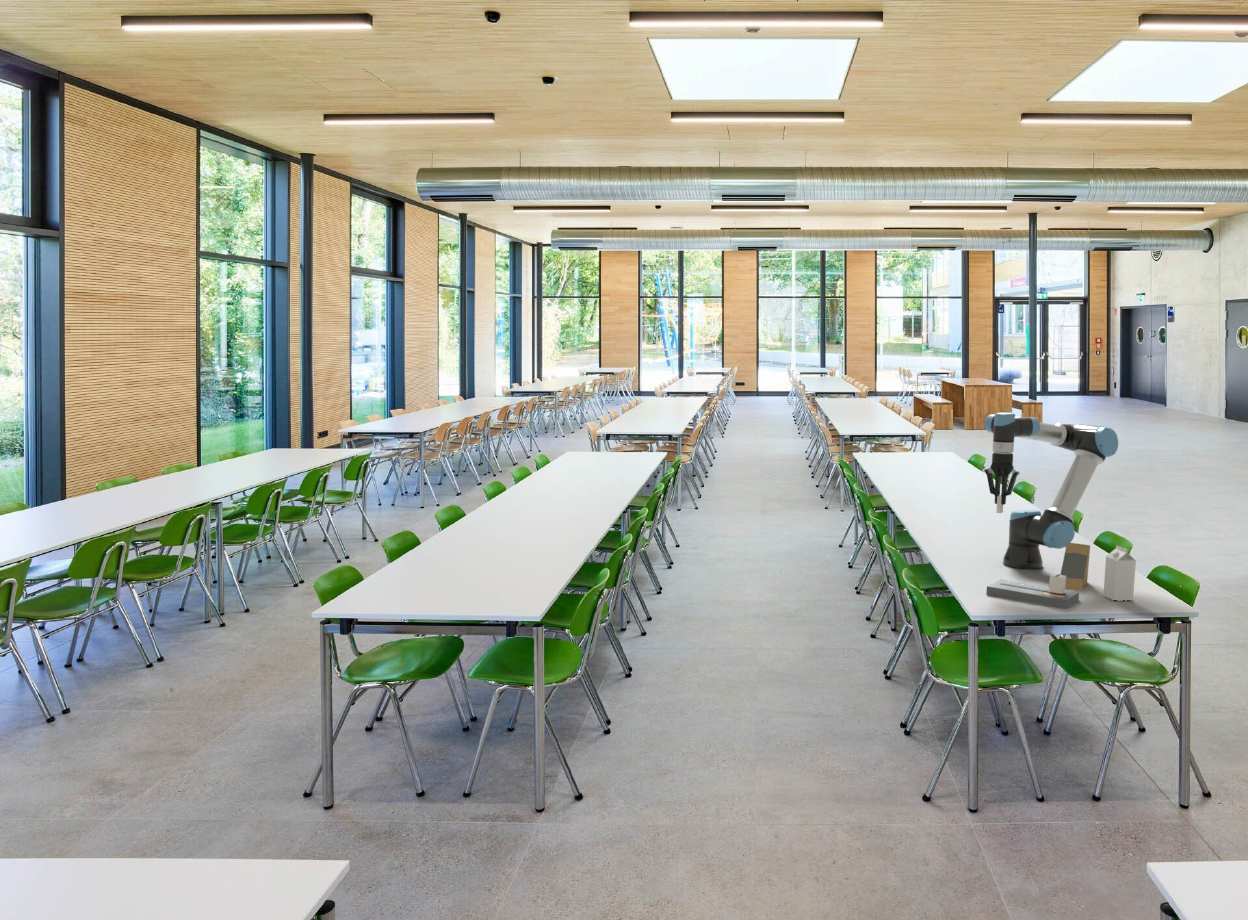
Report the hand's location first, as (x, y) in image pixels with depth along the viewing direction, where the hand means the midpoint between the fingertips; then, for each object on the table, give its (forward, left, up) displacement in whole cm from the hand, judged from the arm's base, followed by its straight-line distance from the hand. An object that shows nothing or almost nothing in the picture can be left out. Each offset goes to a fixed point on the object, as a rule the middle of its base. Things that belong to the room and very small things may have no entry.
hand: (999, 512), depth 368 cm
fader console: (+19, +20, -26) cm, 38 cm away
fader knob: (+19, +28, -23) cm, 41 cm away
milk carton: (0, +44, -27) cm, 51 cm away
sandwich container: (-10, +26, -27) cm, 38 cm away
